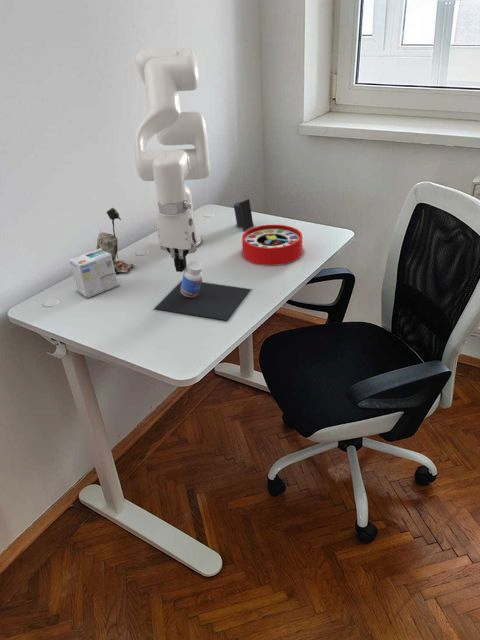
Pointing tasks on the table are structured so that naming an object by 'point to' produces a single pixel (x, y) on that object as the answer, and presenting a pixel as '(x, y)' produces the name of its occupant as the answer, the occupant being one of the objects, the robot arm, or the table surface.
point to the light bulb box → (93, 272)
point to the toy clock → (272, 244)
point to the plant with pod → (112, 244)
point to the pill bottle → (192, 279)
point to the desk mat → (205, 301)
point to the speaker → (243, 214)
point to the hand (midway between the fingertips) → (181, 269)
